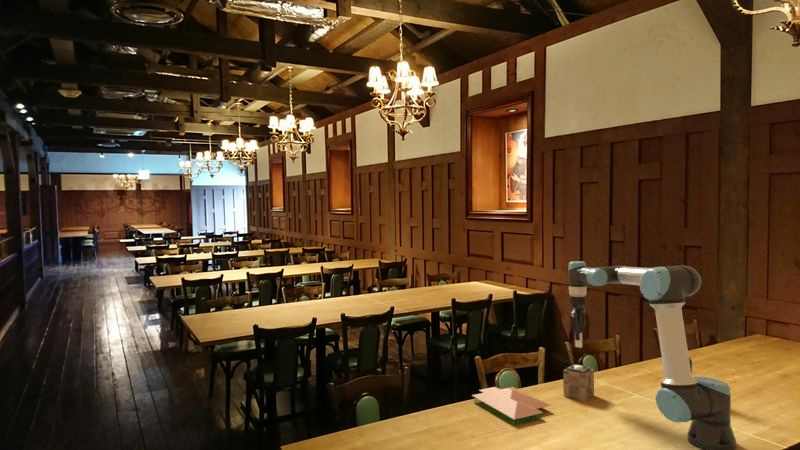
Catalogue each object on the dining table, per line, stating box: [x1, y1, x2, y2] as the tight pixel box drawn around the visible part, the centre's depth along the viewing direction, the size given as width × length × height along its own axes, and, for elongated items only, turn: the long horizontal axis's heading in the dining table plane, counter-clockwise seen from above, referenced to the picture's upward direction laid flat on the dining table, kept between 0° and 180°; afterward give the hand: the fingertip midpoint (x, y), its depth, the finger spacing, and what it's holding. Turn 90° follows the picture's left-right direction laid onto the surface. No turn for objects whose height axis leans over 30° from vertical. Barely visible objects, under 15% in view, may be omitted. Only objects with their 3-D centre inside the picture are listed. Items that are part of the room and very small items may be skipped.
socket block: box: [562, 363, 595, 402], centre depth 233 cm, size 10×10×13 cm
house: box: [471, 386, 552, 426], centre depth 221 cm, size 23×33×8 cm
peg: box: [574, 364, 584, 370], centre depth 233 cm, size 4×4×12 cm
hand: (578, 346), depth 232 cm, fingers closed
